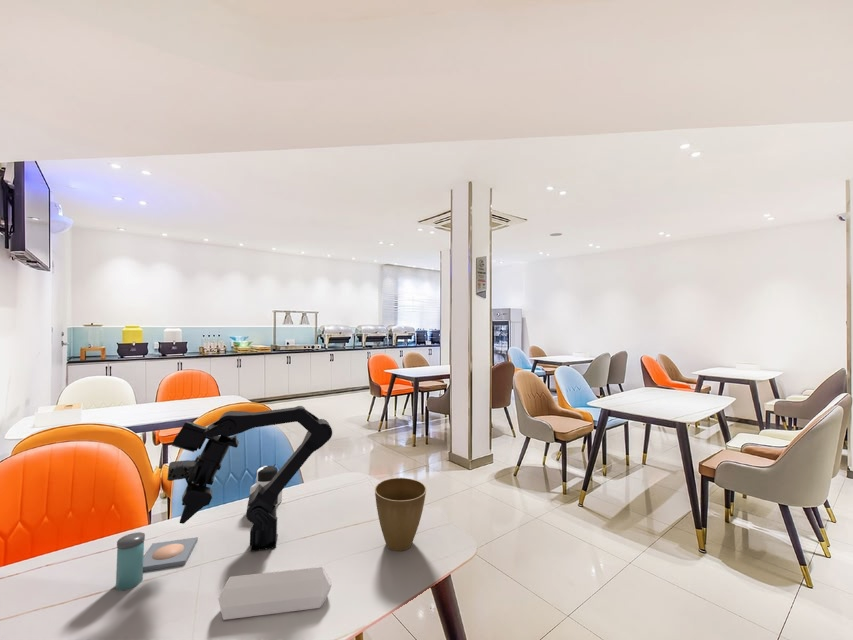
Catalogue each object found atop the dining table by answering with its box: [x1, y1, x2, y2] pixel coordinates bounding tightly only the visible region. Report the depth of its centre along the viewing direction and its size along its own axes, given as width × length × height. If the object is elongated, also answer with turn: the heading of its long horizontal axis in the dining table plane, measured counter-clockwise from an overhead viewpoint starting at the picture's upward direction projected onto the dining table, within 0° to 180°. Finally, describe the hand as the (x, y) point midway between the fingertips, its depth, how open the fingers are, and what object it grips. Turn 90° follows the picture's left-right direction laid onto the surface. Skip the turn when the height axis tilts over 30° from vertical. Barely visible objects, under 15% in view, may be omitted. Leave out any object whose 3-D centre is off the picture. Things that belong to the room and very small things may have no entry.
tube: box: [115, 531, 146, 591], centre depth 87 cm, size 5×5×10 cm
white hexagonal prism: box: [217, 566, 332, 621], centre depth 82 cm, size 7×7×24 cm
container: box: [249, 465, 283, 507], centre depth 126 cm, size 8×8×13 cm
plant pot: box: [374, 477, 427, 552], centre depth 105 cm, size 15×15×16 cm
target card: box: [143, 536, 199, 572], centre depth 98 cm, size 11×11×1 cm
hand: (182, 513), depth 96 cm, fingers open, 9 cm apart
